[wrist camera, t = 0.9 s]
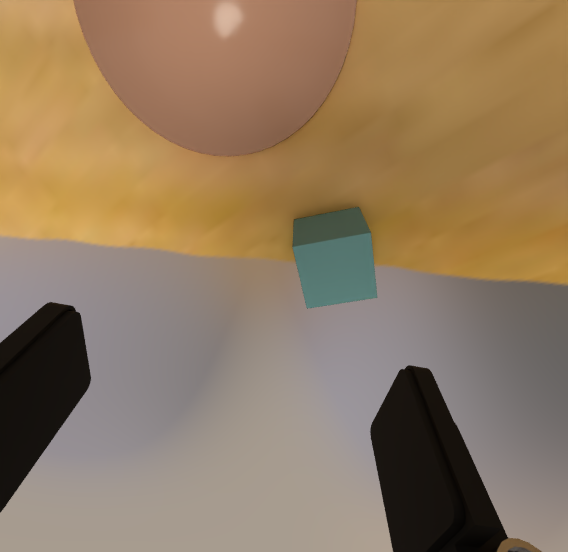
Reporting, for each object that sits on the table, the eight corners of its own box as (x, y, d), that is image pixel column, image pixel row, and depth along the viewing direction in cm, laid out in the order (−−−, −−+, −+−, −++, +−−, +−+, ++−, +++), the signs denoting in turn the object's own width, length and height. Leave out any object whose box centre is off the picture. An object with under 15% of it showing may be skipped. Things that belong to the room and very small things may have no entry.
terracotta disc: (400, -147, 19) (406, -160, 18) (311, 177, 28) (311, 181, 27) (64, -261, 17) (49, -283, 16) (88, 121, 27) (80, 122, 26)
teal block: (358, 206, 30) (370, 232, 24) (365, 263, 33) (377, 297, 27) (293, 219, 31) (292, 246, 25) (305, 273, 33) (306, 308, 28)
